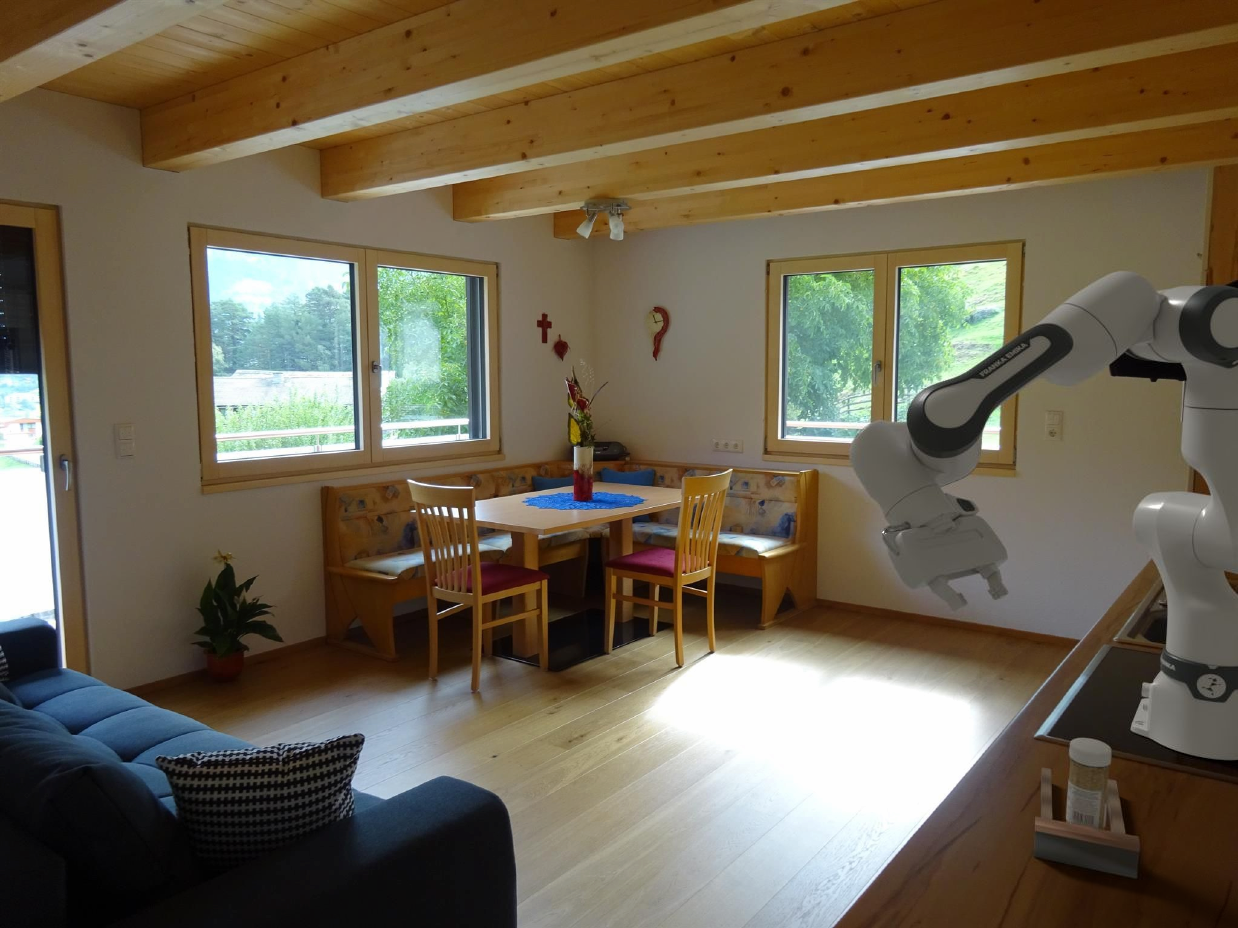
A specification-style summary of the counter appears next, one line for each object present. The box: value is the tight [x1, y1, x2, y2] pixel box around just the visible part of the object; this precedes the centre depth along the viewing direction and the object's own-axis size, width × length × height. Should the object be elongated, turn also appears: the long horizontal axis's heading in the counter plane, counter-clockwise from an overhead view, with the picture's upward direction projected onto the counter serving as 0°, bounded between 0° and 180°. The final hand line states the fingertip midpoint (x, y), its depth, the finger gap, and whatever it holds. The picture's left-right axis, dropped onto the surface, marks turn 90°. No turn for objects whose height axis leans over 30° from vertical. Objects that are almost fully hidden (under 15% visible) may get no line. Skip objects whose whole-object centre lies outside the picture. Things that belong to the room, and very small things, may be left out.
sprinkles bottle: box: [1065, 737, 1112, 830], centre depth 113 cm, size 5×5×13 cm
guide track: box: [1033, 767, 1141, 880], centre depth 119 cm, size 22×11×4 cm, turn 155°
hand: (982, 602), depth 123 cm, fingers open, 8 cm apart
